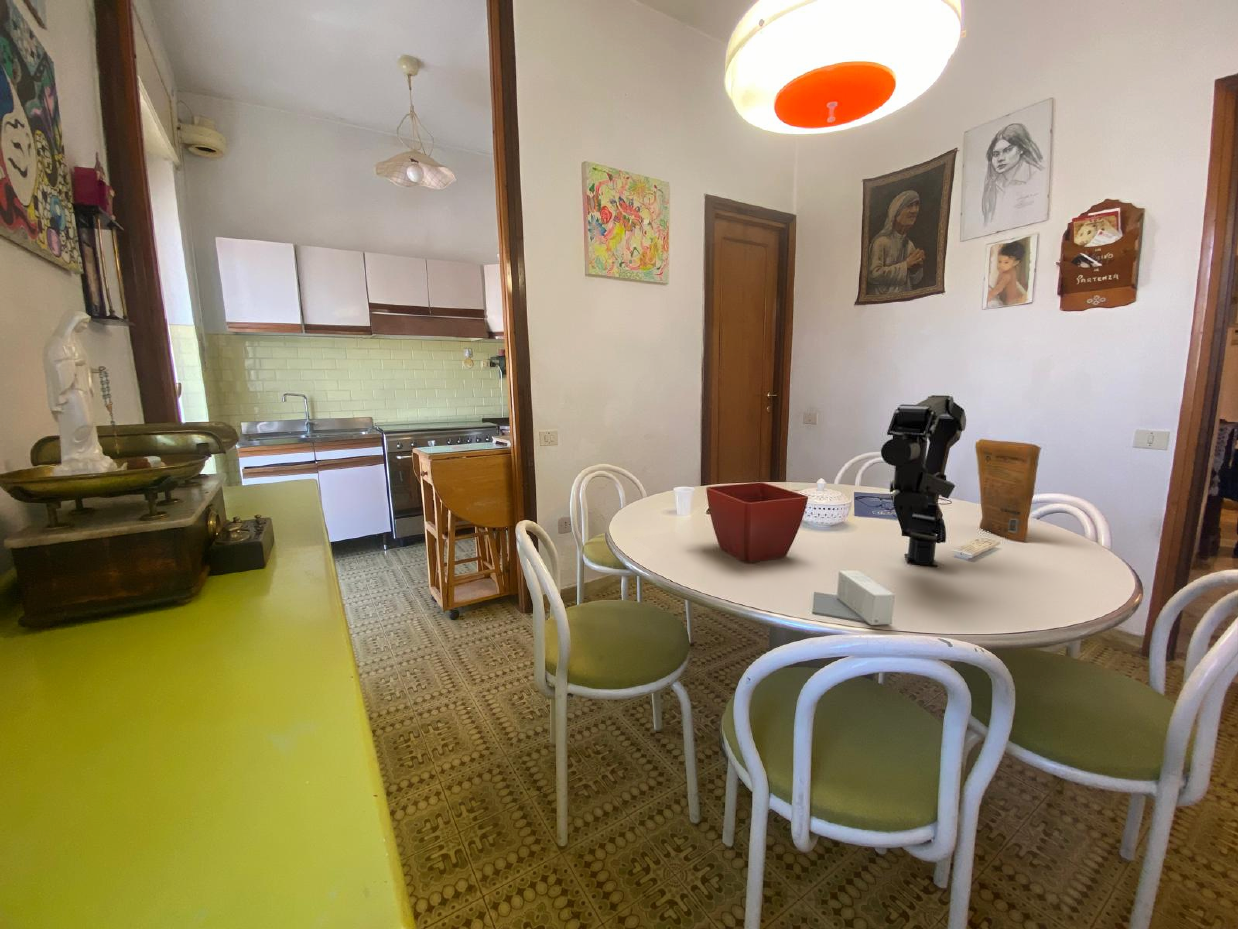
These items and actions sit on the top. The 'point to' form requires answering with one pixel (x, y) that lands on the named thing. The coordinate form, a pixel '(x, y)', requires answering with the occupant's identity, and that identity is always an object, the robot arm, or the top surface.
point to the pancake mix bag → (1006, 486)
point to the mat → (833, 607)
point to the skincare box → (865, 597)
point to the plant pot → (755, 519)
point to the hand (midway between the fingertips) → (904, 529)
